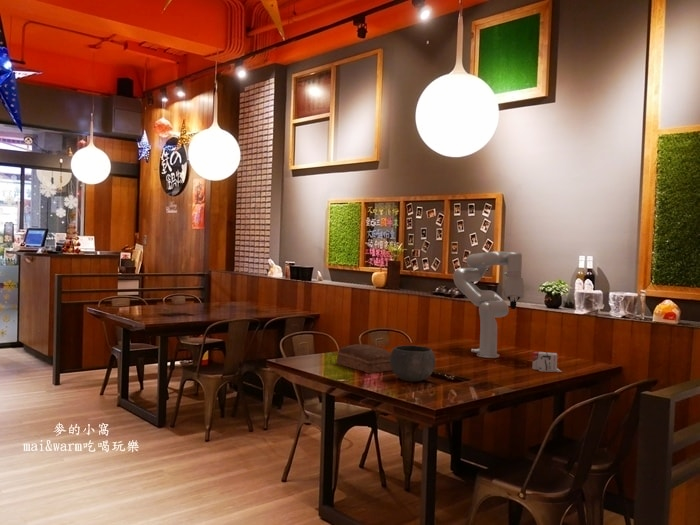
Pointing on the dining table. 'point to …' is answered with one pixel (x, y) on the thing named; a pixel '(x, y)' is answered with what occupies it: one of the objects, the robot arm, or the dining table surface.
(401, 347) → the bowl
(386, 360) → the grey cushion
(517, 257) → the robot arm
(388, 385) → the dining table surface
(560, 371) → the mat
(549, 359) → the ink box
